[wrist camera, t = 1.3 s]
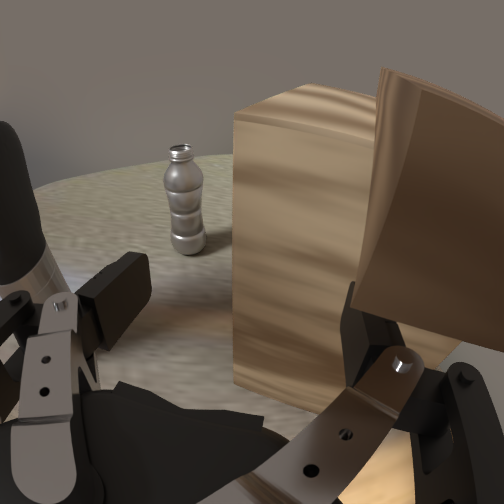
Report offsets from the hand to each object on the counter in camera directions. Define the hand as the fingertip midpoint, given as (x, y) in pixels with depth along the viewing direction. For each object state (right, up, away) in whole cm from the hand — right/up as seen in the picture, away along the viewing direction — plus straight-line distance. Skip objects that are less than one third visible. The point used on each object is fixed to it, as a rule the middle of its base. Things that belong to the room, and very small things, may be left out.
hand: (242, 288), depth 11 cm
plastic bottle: (-11, +2, +43) cm, 45 cm away
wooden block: (+10, -13, +27) cm, 32 cm away
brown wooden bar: (+9, +8, +3) cm, 13 cm away
